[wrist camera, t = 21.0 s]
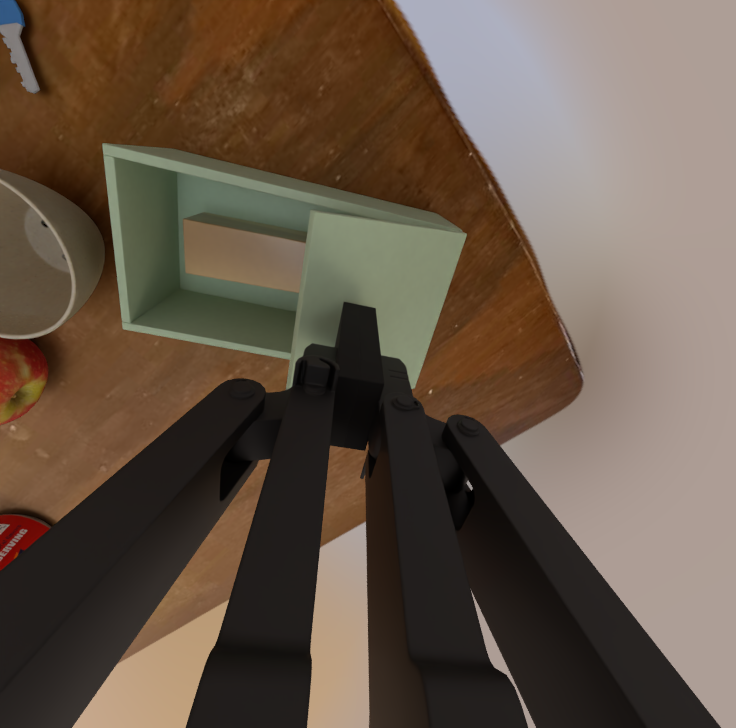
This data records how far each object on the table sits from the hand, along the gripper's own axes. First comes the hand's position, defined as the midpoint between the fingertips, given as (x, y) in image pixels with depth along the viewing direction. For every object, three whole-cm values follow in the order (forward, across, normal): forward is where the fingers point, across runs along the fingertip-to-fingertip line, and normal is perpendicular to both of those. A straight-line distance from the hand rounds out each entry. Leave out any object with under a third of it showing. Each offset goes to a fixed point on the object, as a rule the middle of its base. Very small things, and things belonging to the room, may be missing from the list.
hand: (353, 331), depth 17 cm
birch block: (+12, -4, 0) cm, 13 cm away
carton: (+13, -4, 0) cm, 13 cm away
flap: (+2, +1, 0) cm, 2 cm away
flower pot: (+13, -21, -2) cm, 25 cm away
